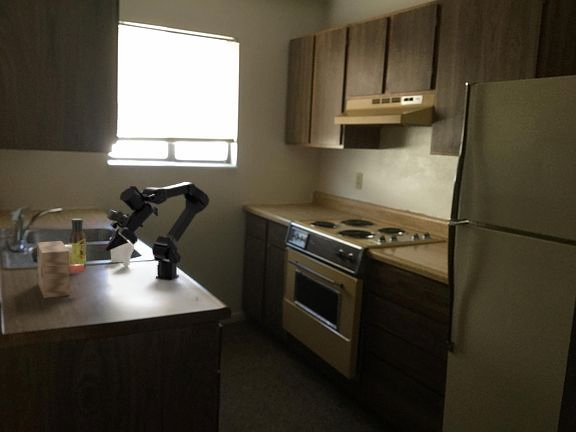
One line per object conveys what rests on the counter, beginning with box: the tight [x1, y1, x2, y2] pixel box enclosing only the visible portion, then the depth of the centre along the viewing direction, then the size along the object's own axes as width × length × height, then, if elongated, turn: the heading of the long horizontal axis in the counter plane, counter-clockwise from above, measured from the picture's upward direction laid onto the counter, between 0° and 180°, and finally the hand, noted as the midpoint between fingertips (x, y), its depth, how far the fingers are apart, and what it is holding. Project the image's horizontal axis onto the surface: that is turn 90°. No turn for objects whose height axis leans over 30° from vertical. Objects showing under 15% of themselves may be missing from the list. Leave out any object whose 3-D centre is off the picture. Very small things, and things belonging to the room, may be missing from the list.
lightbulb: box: [118, 240, 135, 267], centre depth 216 cm, size 6×6×11 cm
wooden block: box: [36, 240, 71, 299], centre depth 182 cm, size 8×18×15 cm, turn 30°
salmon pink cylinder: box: [69, 264, 86, 275], centre depth 179 cm, size 7×3×3 cm, turn 120°
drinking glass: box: [109, 237, 123, 263], centre depth 225 cm, size 7×7×10 cm
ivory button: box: [64, 244, 72, 253], centre depth 188 cm, size 7×3×3 cm, turn 120°
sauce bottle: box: [68, 218, 87, 269], centre depth 210 cm, size 6×6×20 cm
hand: (106, 250), depth 184 cm, fingers closed
